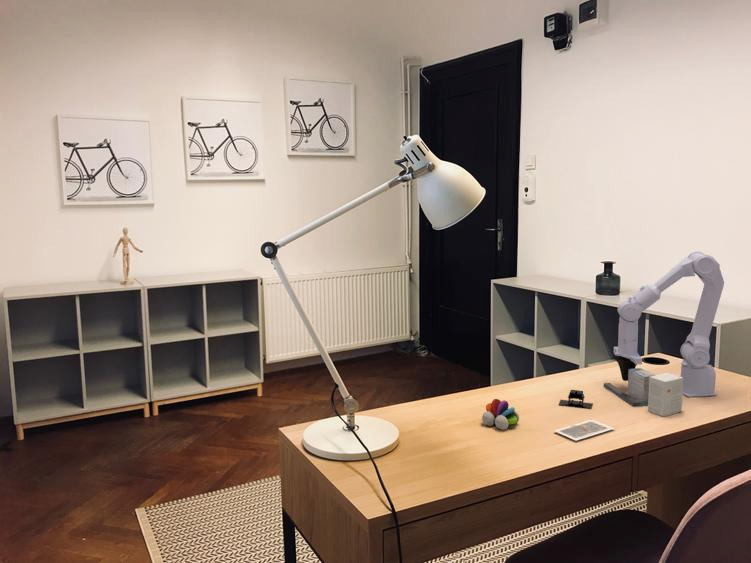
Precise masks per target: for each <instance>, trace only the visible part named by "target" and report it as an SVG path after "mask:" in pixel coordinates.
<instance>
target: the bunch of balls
mask: <svg viewBox="0 0 751 563" xmlns="http://www.w3.org/2000/svg"><path fill="white" fill-rule="evenodd" d="M485 409H486V411H484V413H483V414H482V415H481V420H482V423H483V424H484V425H486V426H488V427H489V426H491V427H492V426H494V424H495V426H496V428H497V429H499V430H502V431H503V430H504V431H505V430H507V429H508V427H509V425H516V424H517V423H519V421H520V415H519V412H518V411H516V408H515V407H513V406H511V407H510V408H509V402H508V400H502V401H501V400H500V399H498V398H493V399H492V401H491V402H490V403H487V404H486V405H485Z"/></svg>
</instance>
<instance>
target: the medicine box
mask: <svg viewBox="0 0 751 563" xmlns="http://www.w3.org/2000/svg"><path fill="white" fill-rule="evenodd" d="M655 375H656V374H655V373H652V372H651V371H648V370H647V369H643V368H641V367H635V368H634V369H629V373H628V381H627V395H629V396H631V397H632V398H634V399H635V400H637V401H648V395H649V377H651V376H655Z"/></svg>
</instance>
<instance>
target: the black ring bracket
mask: <svg viewBox="0 0 751 563" xmlns="http://www.w3.org/2000/svg"><path fill="white" fill-rule="evenodd" d="M585 398H586V397H585V393H584V391H583V390H578V389H570V391H569V394H568V396H567V399H568V400H567V399H560V401H559V402H558V406H559V407H560V406H561V407H566V408H567V407H568V408H576V409H584V410H585V409H586V410H592V408H593V406H594V403H591V402H585Z"/></svg>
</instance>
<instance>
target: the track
mask: <svg viewBox="0 0 751 563" xmlns="http://www.w3.org/2000/svg"><path fill="white" fill-rule="evenodd" d="M603 388H605V389H607V391H609V392H611V393H613V395H616V396H617V397H618V398H620V400H623V401H624V402H625V403H627V404H628V405H629V406H632V407H635V408H637V407H638V408H640V407H648V401H638V400H636V399H634V398H632V397H631V396H629V395H628V393H626V392H624V391H623V390H622V389H620V388H619V387H617V386H616V385H614V384H612V383H611V382H603Z"/></svg>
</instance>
